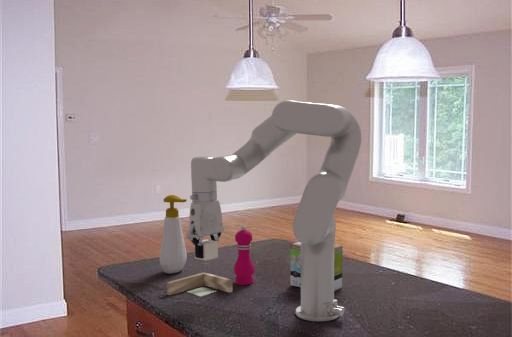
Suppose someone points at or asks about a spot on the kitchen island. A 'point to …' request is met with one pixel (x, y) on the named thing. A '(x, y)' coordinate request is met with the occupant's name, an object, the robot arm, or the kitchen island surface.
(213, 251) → the cube
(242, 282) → the pepper mill
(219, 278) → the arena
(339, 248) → the tea box
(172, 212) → the soap bottle
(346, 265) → the kitchen island surface
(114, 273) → the kitchen island surface
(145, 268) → the kitchen island surface
